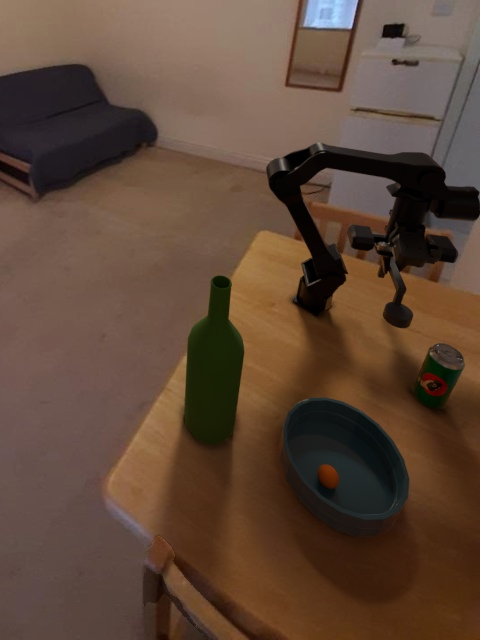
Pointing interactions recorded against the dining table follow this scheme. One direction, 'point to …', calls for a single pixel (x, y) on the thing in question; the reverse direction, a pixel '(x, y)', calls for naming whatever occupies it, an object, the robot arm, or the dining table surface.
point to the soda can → (438, 375)
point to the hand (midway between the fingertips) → (389, 273)
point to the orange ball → (328, 476)
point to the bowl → (343, 466)
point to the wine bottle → (213, 369)
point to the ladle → (396, 299)
